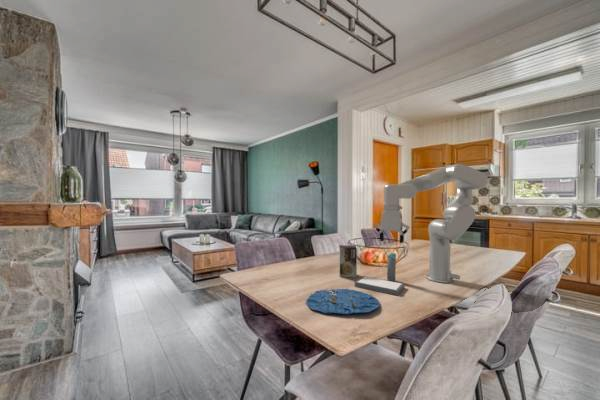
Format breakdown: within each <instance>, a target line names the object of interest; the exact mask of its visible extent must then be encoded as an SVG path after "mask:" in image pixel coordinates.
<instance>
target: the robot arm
mask: <svg viewBox="0 0 600 400" xmlns="http://www.w3.org/2000/svg"><path fill="white" fill-rule="evenodd" d="M452 182H454V184H455V188H456V194H455V196H454V197H453V199H452V200H451V201H450V202H449V204H448V205H447V206H446V207H445V208H444V210H443V212H442V217H443V218H444V219H442V218H441V219H440V218H438V219H436V218H435V219H434V220H432V221H430V223H429V224H428V227H427V229H428V237H429V273H427V274H426V275H425V277H426V279H427V280H430V281H432V282H436V283H444V284H446V283H447V284H448V283H449V284H450V283H453V282H454V279H455V280H461V275H458V274H456V273H455V274H453V273H452V271H451V242H450V241H456V240H458V239H460V238H461V237H462V236H463V235H464V234H465V232H466V231H467V230H469V228H470V226H471V225H472V224H473V222H475V219H476V210H475V208H474V207H473V206H472V205H473V202H474V195H473V194H474V193H473V191H472V190H481V189H482V190H483V189H484V188H485V187H486V186H487V185H488V183H489V178H488V177H487V175H486V173H484V172H482V171H480V170H478V169H475V168H473V167H470V166H468V165H466V164H463V163H462V164H461V163H454V164H450V165H445V166H442V167H440V168H437V169H435V170H433V171H430V172H428V173H425V174H422V175H420V176H417V177H415V178H411V179H409V180H406V181H404V182H402V183H398V184H394V183H393V184H392V183H391V184H389V183H388V184H386V185H384V186H383V210H382V211H381V217H380V218H381V219H380V222H377V223H376V224H374V227H375V229H376V231H377V232H378V234H379V241H380V242H383V241H384V237H385V236H384V235H385V233H384V231H388V232H389V231H391V232H392V231H393V232H398V233H399V234H400V235H399V244H402V243H404V241H405V234H407V232H408V231H409V229H410V226H409V225H408V224H406V223H404V222H403V214H402V211H401V210H403V206H401V205H400V200H401V199H403V200H404V199H407V200H408V199H413V198H414V197H416V196H417V193H419V192H425V191H426V192H427V191H431V190H433V189H436V188H438V187H440V186H443V185H446V184H449V183H452ZM379 226H380V227H379ZM404 228H405V229H404ZM403 229H404V230H403Z"/></svg>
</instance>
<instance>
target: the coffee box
mask: <svg viewBox="0 0 600 400" xmlns="http://www.w3.org/2000/svg"><path fill="white" fill-rule="evenodd" d="M357 249H358V248H357V246H356V245H345V244H344V245H343V244H342V245H341V244H340V245H339V249H338V250H339V251H338V252H339V253H338V258H339V259H338V260H339V261H338V264H339V267H338V268H339V269H338V271H339V274H338V275H339V277H340V278H357V265H358V264H357V262H358V261H357V256H358V255H357V252H358V251H357Z"/></svg>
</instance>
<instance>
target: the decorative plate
mask: <svg viewBox="0 0 600 400" xmlns="http://www.w3.org/2000/svg"><path fill="white" fill-rule="evenodd" d="M305 303H306V305H307V306H308V308H309V309H310V310H311V311H313V310H314V311H318V312H322V313H323V314H324V313H325V314H326V313H327V314H332V313H334V314H339V315H345V316H346V315H350V314H353V313H354V314H357V313H370V312H372V311H374V310H376V309H379V307H380V306H381V303H380V301H379V299H377V298H376V296H373V295H372V294H368V293H365V292H363V291H359V290H354V289H350V288H349V289H348V288H336V289H333V288H331V289H320V290H316V291H314V293H311V294H310V295H309V297H308V298H307V299H306V300H305Z"/></svg>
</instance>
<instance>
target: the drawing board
mask: <svg viewBox="0 0 600 400" xmlns="http://www.w3.org/2000/svg"><path fill="white" fill-rule="evenodd" d="M354 287H355V288H360V289H365V290H369V291H374V292H375V291H376V292H379V293H383V294H389V295H393V296H399V295H400V294H401V293H402V292H403V291H404V289H405V283H402V282H398V281H397V282H396V281H395V282H392V281H387V279H382V278H377V277H376V278H375V277H372V276H371V277H370V276H365V275H364V276H362V277H361V278H359V279H358V280H356V281H354Z"/></svg>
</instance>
